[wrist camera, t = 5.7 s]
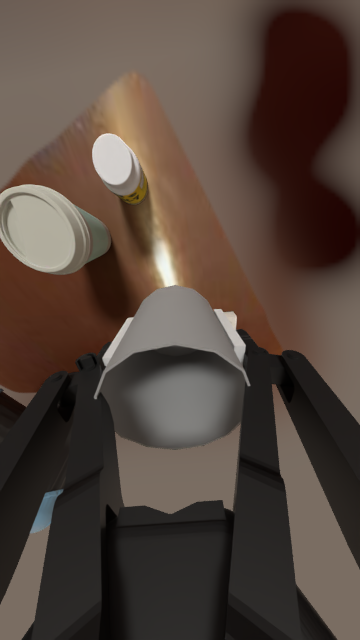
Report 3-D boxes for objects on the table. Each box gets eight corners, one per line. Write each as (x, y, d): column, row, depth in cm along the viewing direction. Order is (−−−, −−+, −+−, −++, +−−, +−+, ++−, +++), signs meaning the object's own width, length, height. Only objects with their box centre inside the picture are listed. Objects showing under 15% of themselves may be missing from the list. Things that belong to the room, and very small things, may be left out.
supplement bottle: (117, 203, 24) (90, 186, 17) (114, 162, 22) (83, 122, 15) (148, 207, 25) (135, 192, 17) (149, 167, 23) (135, 131, 15)
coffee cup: (79, 191, 24) (-1, 150, 13) (129, 233, 26) (95, 227, 16) (58, 241, 27) (-23, 240, 16) (104, 274, 29) (61, 292, 18)
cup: (209, 353, 19) (237, 448, 11) (141, 353, 19) (112, 451, 10) (216, 285, 16) (270, 342, 7) (133, 284, 16) (75, 343, 7)
